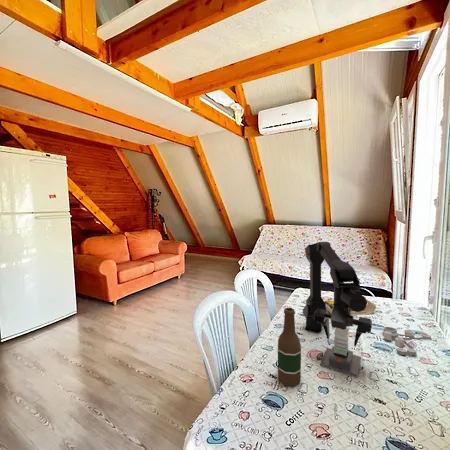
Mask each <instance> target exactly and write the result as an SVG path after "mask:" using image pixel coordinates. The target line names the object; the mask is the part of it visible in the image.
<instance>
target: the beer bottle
mask: <svg viewBox="0 0 450 450" xmlns="http://www.w3.org/2000/svg"><path fill="white" fill-rule="evenodd" d="M283 314H284V319H283V330H282V332H281V333H280V334H279V337H278V339H277V379H278V380H277V381H278V382H279V383H280V382H281V384H282V385H283V386H285V387H291V388H293V387H294V388H295V387H297V386H298V385H299V384H301V380H302V379H301V378H302V377H301V376H302V346H301V342H300V338H299V335H298V334H297V333H296V325H295V324H296V322H295V321H296V320H295V314H296V311H295V309H294V308H292V307H285V308H284V310H283Z"/></svg>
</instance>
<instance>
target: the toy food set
mask: <svg viewBox="0 0 450 450" xmlns="http://www.w3.org/2000/svg"><path fill="white" fill-rule="evenodd" d="M366 301H367V306H366V308H365V309H364V310H363V311H361V312H355V311H353V310H352V309H351V316H363V315H364V316H365V315H367V316H368V315H372V314H373V313H374V312H375V311H376V307H377V305H376V303H374V302H372V300H371V301H370V300H369V299H367V298H366ZM324 302H325V303H326V310H327V311H328V313H329V314H332V311H333V307H334V300H330V299H327V300H324Z"/></svg>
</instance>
